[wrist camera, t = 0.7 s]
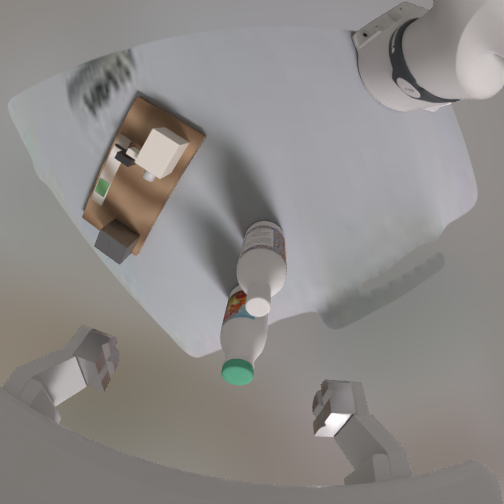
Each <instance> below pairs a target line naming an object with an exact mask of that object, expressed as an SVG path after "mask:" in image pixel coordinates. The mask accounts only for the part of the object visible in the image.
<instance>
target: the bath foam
mask: <svg viewBox="0 0 504 504" xmlns="http://www.w3.org/2000/svg"><path fill="white" fill-rule="evenodd" d="M286 274H287V267H286V249H285V237H284V234H283V231H282V230H281V228H280V227H279V226H277V225H276V224H274V223H272V222H268V221H260V222H257V223H255V224H253V225H252V226H250V227H249V229H248V230H247V232H246V234H245V238H244V242H243V245H242V249H241V253H240V257H239V260H238V264H237V280H238V283H239V285H240V287H241V288H242V290H243V291H244V292H245V293H246V294H247V297H246V303H245V308H246V310H247V312H248V313H249V314H250V315H252V316H256V317H261V316H264V315H266V314H267V313H268V312H269V311H270V308H271V296H273V295H275V294H276V293H277V292H278V291H279V290H280V289H281V288H282V286H283V284H284V282H285V279H286Z"/></svg>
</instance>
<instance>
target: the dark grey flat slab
mask: <svg viewBox="0 0 504 504" xmlns="http://www.w3.org/2000/svg"><path fill="white" fill-rule="evenodd" d="M116 147H117V148H118V149H120V150H122V151H119V152H117V154H116V156H115V159H116V160H118V161H119V162H121V163H122V164H124V165H125V166H127V167H130V166H133V165H135V164H136V163H135V159H133V158H132V157H130V156H129V155H127V154H126V152H127V150H128V149H126V150H124V149H122V148H121V147H119V146H118V145H116Z"/></svg>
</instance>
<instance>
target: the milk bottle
mask: <svg viewBox="0 0 504 504" xmlns="http://www.w3.org/2000/svg"><path fill="white" fill-rule="evenodd" d="M246 297H247V294H246V293H245V292H244V291H243V290H242V288H241V287H240V285H238V286H237V287H235V288H234V289H233V290H232V291H231V293H230V296H229V300H228V304H227V307H226V311H225V315H224V319H223V324H222V328H221V335H220V341H221V346H222V349H223V352H224V354H225V358H226V359H225V361H224V363H223V367H222V377H223V378H224V379H225V381H227V382H229V383H231V384H234V385H244V384H247V383H249V382H250V381H251V380H252V379H253V375H254V364H253V363H254V361H255V359H256V358H257V357H258V356H259V355H260V353H261V352H262V350H263V348H264V345H265V342H266V336H267V325H268V313H267V314H266V315H264V316H261V317H256V316H252V315H250V314H249V313H248V312H247V310H246V308H245V303H246Z"/></svg>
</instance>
